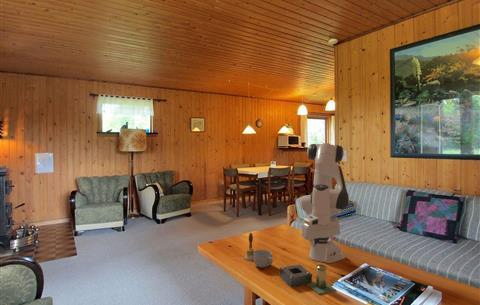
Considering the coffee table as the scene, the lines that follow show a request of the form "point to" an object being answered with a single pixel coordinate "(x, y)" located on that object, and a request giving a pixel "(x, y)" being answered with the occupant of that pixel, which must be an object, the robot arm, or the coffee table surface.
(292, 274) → the housing
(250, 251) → the hand bell
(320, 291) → the coaster
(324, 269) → the plug
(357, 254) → the coffee table surface
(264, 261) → the teacup
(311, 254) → the robot arm
